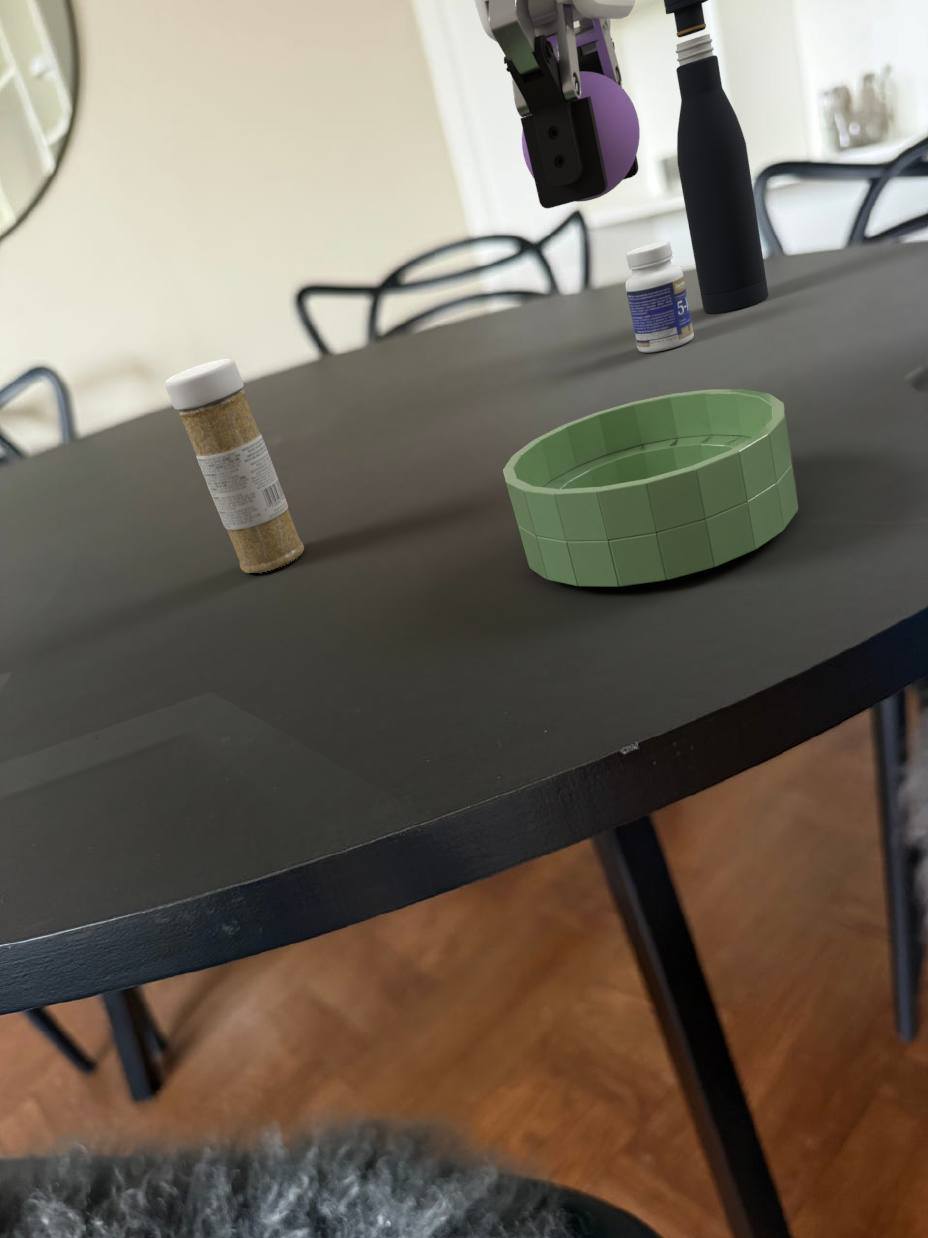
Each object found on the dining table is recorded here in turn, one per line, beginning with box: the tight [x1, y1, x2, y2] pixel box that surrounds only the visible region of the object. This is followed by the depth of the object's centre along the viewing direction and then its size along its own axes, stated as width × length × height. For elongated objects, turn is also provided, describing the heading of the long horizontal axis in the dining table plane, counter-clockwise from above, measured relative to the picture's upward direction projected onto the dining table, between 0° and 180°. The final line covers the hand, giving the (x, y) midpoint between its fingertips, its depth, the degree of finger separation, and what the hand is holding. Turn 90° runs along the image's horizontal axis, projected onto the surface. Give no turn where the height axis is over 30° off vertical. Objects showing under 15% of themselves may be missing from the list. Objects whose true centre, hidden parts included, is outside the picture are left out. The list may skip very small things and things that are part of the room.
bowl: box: [502, 388, 799, 588], centre depth 51 cm, size 14×14×6 cm
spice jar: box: [164, 358, 305, 574], centre depth 64 cm, size 5×5×13 cm
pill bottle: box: [625, 240, 695, 354], centre depth 91 cm, size 5×5×9 cm
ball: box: [521, 71, 641, 203], centre depth 47 cm, size 6×6×6 cm
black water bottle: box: [663, 0, 769, 315], centre depth 94 cm, size 6×6×30 cm
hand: (591, 187), depth 48 cm, fingers closed on ball, 5 cm apart
